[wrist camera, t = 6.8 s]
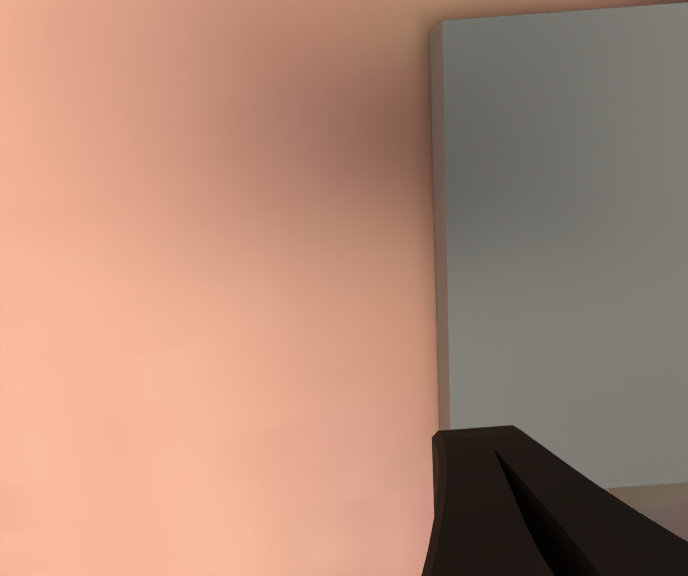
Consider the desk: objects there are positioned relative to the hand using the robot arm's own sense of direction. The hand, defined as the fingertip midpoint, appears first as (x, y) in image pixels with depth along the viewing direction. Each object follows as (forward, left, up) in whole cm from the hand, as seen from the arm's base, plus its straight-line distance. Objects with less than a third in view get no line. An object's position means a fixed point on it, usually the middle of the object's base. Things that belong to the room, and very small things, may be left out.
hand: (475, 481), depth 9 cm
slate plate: (+1, -8, -9) cm, 12 cm away
